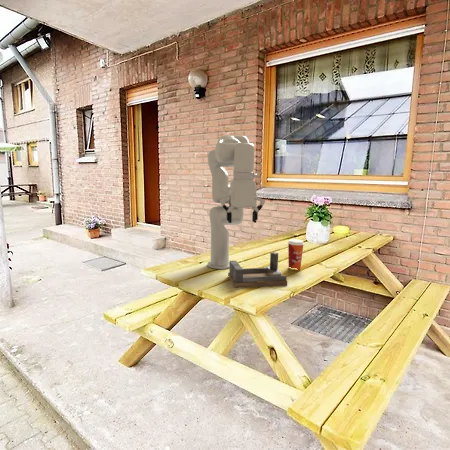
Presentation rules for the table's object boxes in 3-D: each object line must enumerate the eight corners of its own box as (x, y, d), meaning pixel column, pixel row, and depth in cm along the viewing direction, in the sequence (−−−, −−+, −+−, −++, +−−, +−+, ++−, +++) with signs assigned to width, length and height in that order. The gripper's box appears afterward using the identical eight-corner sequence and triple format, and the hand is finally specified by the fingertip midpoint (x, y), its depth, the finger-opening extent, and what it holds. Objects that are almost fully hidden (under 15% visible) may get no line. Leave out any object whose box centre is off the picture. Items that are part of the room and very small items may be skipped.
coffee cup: (294, 272, 169) (296, 243, 166) (283, 267, 175) (284, 240, 172) (306, 269, 173) (307, 241, 171) (294, 265, 180) (295, 238, 177)
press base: (228, 276, 160) (228, 260, 158) (275, 274, 165) (276, 258, 163) (235, 287, 145) (235, 270, 144) (287, 285, 150) (288, 268, 149)
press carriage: (265, 272, 161) (266, 250, 159) (273, 271, 161) (274, 250, 159) (272, 279, 151) (273, 256, 149) (281, 278, 152) (282, 256, 150)
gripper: (262, 176, 130) (260, 220, 133) (218, 176, 126) (218, 220, 129) (268, 177, 123) (266, 223, 126) (222, 177, 119) (221, 224, 122)
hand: (242, 222), depth 128 cm, fingers open, 9 cm apart
